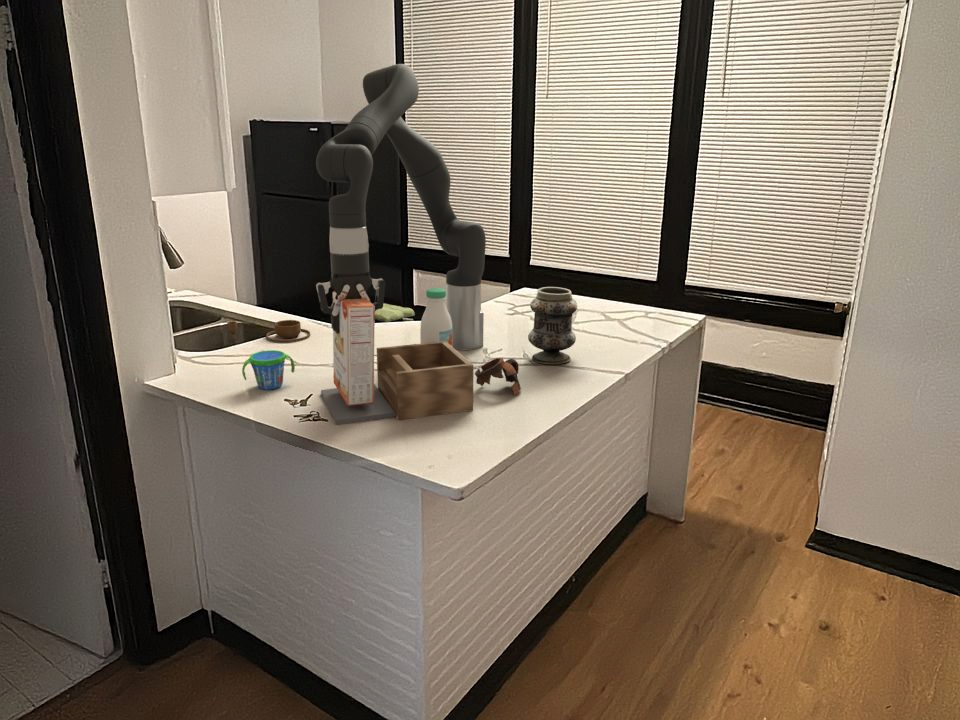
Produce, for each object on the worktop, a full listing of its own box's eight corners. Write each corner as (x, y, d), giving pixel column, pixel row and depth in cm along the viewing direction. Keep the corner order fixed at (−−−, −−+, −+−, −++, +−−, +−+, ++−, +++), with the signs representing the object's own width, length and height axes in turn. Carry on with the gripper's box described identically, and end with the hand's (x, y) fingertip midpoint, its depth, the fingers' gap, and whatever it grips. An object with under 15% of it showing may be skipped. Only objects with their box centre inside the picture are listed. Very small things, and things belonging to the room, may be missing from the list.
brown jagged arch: (513, 401, 156) (495, 369, 154) (481, 410, 161) (463, 379, 160) (536, 375, 164) (519, 344, 163) (505, 384, 170) (488, 355, 169)
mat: (374, 387, 163) (374, 383, 162) (394, 416, 147) (394, 412, 146) (321, 394, 159) (320, 389, 158) (336, 424, 143) (335, 420, 142)
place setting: (292, 350, 190) (291, 329, 188) (225, 345, 195) (223, 324, 193) (322, 333, 206) (320, 313, 205) (259, 328, 211) (257, 308, 209)
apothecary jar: (584, 358, 184) (588, 290, 179) (555, 369, 176) (558, 297, 170) (546, 349, 192) (549, 282, 187) (517, 358, 184) (519, 289, 178)
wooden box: (445, 382, 167) (445, 341, 163) (473, 410, 151) (473, 364, 147) (378, 390, 161) (376, 347, 158) (398, 420, 145) (397, 373, 142)
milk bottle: (428, 377, 170) (427, 294, 164) (416, 367, 176) (414, 287, 170) (458, 372, 173) (458, 291, 167) (444, 363, 180) (444, 285, 173)
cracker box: (331, 384, 157) (331, 290, 151) (358, 382, 159) (359, 289, 153) (345, 407, 145) (345, 305, 139) (374, 404, 147) (376, 304, 141)
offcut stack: (406, 392, 161) (405, 353, 158) (421, 411, 150) (421, 370, 147) (386, 394, 159) (385, 355, 156) (401, 414, 148) (399, 372, 146)
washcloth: (380, 308, 234) (379, 299, 233) (417, 318, 223) (417, 308, 222) (348, 316, 225) (347, 306, 224) (385, 326, 213) (384, 316, 212)
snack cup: (245, 395, 158) (242, 363, 155) (242, 384, 164) (239, 353, 162) (298, 388, 162) (296, 357, 160) (293, 378, 169) (290, 347, 166)
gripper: (380, 244, 148) (383, 323, 153) (309, 248, 143) (315, 329, 149) (389, 250, 142) (392, 332, 147) (315, 254, 137) (321, 339, 142)
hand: (353, 330), depth 148 cm, fingers closed on cracker box, 6 cm apart
